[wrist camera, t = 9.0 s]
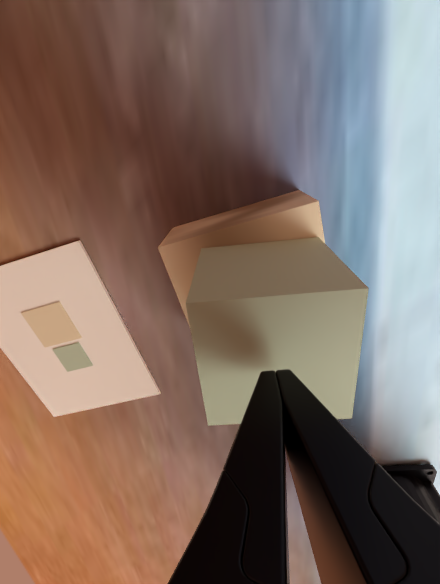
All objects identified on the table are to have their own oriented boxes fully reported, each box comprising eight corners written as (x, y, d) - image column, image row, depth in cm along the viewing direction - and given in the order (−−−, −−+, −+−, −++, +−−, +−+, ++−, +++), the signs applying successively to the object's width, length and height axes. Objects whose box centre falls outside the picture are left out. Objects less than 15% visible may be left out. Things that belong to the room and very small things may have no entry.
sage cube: (318, 236, 12) (368, 288, 8) (314, 334, 15) (351, 418, 10) (201, 248, 13) (185, 302, 8) (214, 341, 15) (208, 425, 10)
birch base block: (297, 189, 15) (318, 201, 12) (317, 302, 18) (339, 339, 15) (173, 226, 16) (157, 247, 13) (210, 327, 19) (206, 368, 16)
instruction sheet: (80, 239, 17) (77, 241, 16) (160, 392, 21) (159, 395, 21) (-48, 280, 18) (-52, 282, 18) (55, 414, 23) (53, 417, 23)
